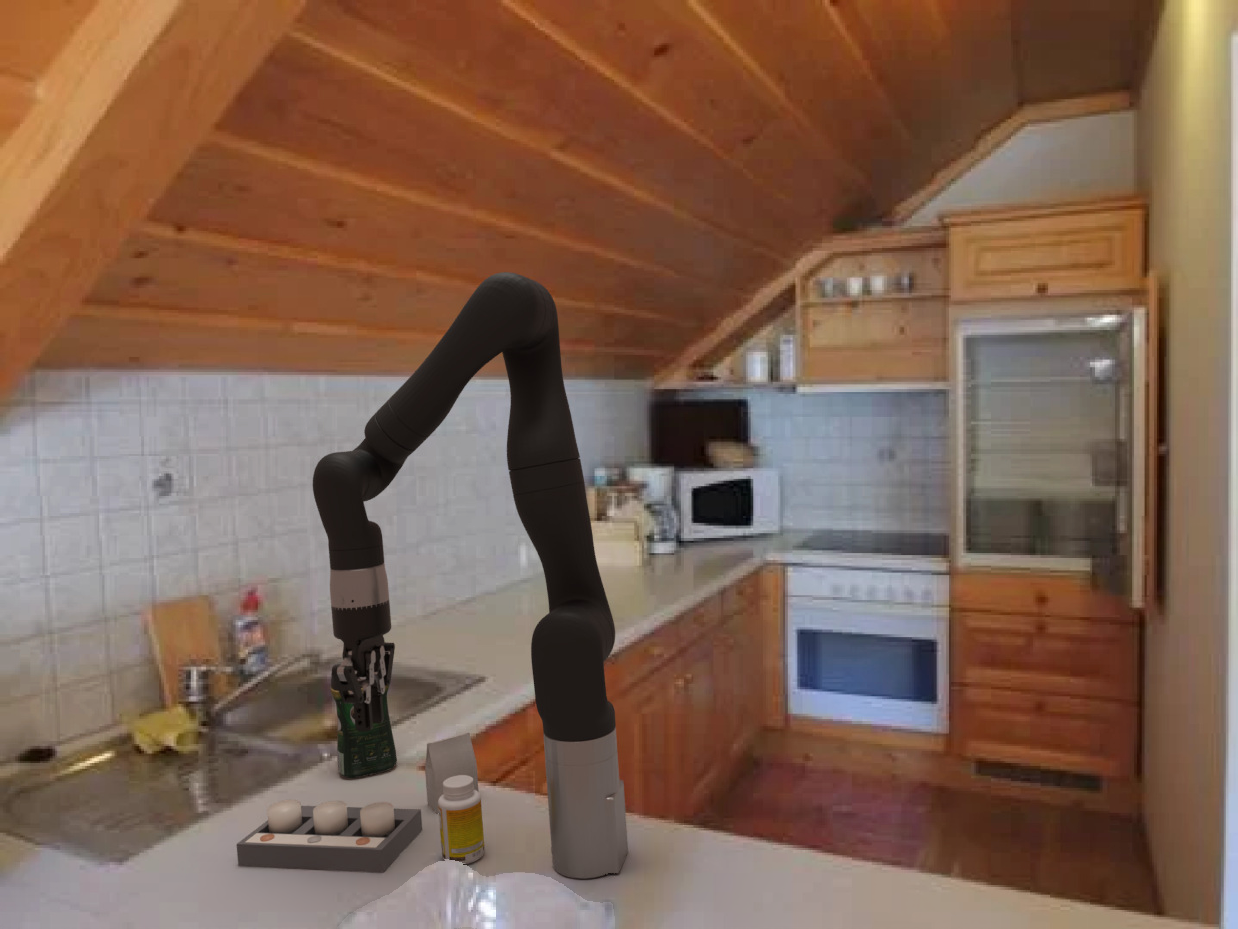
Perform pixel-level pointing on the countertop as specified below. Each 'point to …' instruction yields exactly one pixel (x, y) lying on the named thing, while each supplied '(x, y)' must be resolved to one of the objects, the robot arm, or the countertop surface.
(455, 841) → the supplement bottle
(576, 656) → the robot arm
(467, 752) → the grey carton box
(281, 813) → the button
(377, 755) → the coffee jar
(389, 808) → the button
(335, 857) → the button board
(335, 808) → the middle button
